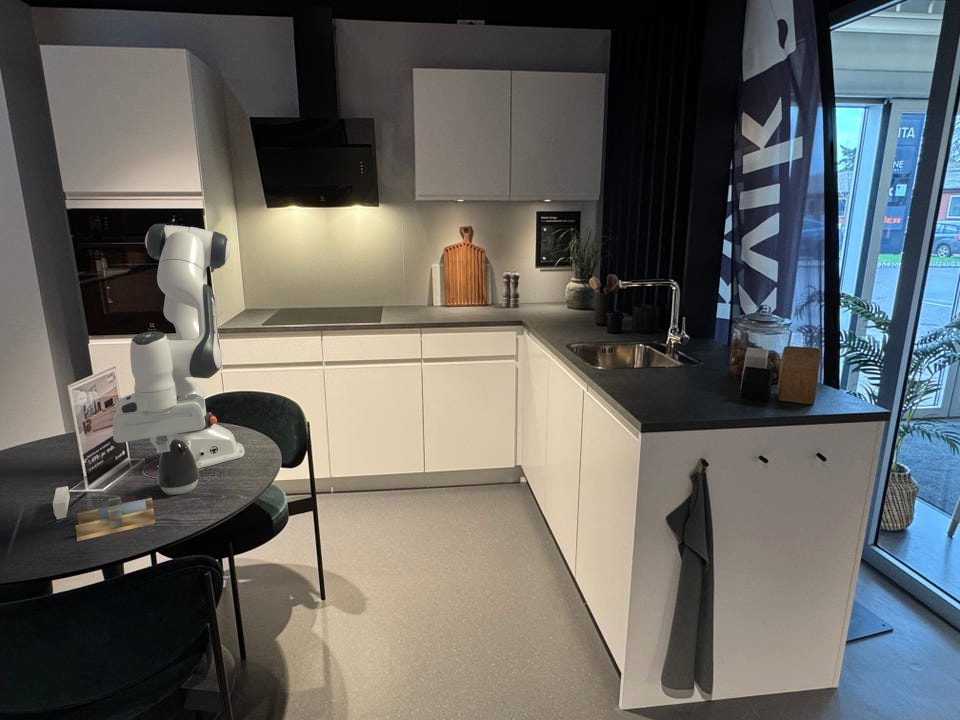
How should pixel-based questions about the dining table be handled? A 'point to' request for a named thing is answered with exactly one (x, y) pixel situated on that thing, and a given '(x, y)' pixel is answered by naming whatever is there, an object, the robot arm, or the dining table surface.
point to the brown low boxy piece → (112, 520)
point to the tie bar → (61, 502)
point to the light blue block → (123, 508)
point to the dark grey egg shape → (177, 469)
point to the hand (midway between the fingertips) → (163, 451)
